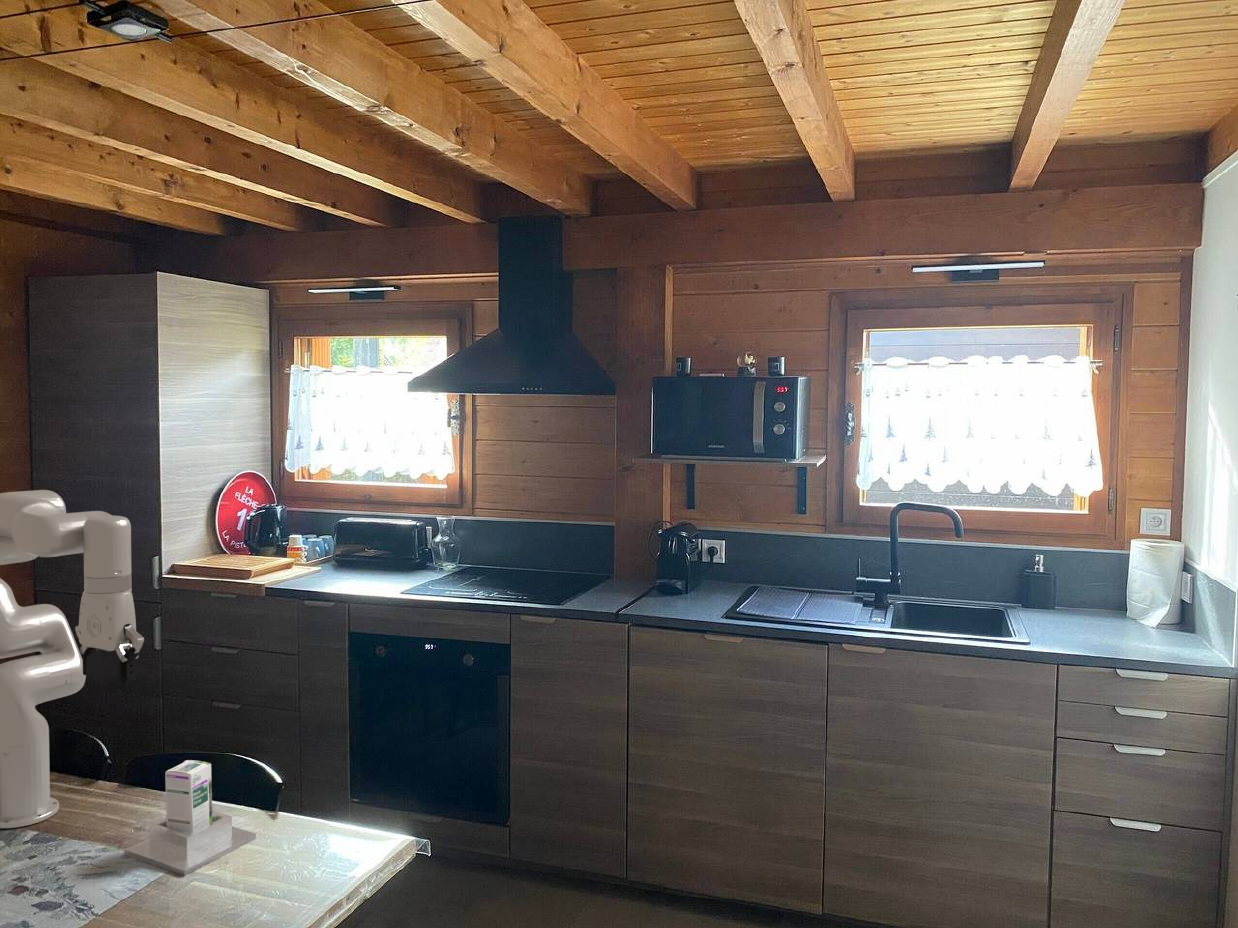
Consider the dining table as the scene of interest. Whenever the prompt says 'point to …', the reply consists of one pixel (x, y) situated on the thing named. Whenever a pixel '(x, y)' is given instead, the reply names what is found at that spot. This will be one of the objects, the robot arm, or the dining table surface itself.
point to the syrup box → (189, 796)
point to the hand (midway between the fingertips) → (109, 677)
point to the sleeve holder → (189, 845)
